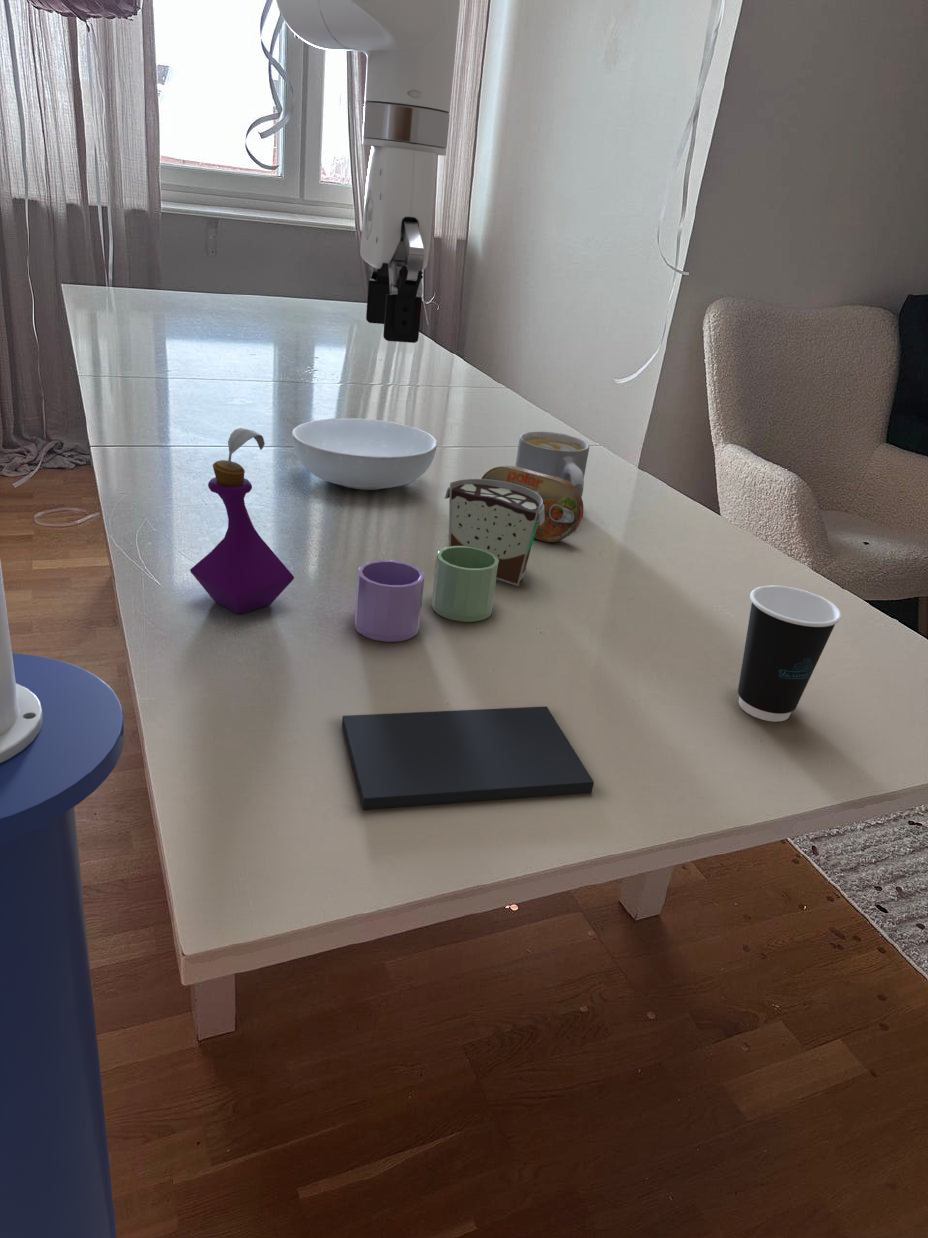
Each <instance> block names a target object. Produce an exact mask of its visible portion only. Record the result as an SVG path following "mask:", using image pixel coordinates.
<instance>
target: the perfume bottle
mask: <svg viewBox="0 0 928 1238" xmlns="http://www.w3.org/2000/svg"><path fill="white" fill-rule="evenodd" d="M251 439H254V440H255V441H256V443H257V445H258V448H259V451H262V450H263V449H264V447H265V445H266V444H265V440H264V436H263V435H262V434H260V433H259V432H257V431H255V430H253V429H248V428H244V427H243V428H242V427H238V428H236V429H234V430H233V431H232V432H231V433H230V435H229V438H228V440H227V446H228V459H227V460H225V459H220V460H217V461H215V462H214V463H212V468H213V473H214V477H212V478H211V479H210V480H209V481H208V484H207V488H208V489H209V490H210V492H211V493H214V494H217V495H218V496H219V497H220V499H221V501H222V502H223V505H224V507H225V510H226V514H227V519H228V520H227V521H228V522H227V529H226V533H225V535H224V537H223V538H222V539H221V540H220V541H219V542H218V543H217V545H216V546H214V548H213V549H212V550H211V551H210V552H209V553H208V554H207V555H205V556H204V557H203V558H202V559H201V560H200V561H198V562H197V563H196V564H195V565H193V566H192V567H191V568H190V569H189V571H190V573H191V574H192V576H193V577H194V578H195V579H196V580H197V582H198V583H199V584H200V586H201V587H202V588H203V589H204V590H205V592H206V593H207V594H208V595H209V596H210V598H211V599H212V600H213V601H214V602H215V603H216V604H218V605H221V606H222V607H224V608H226V609H227V610H229V611H231V612H233V613H234V614H235V615H242V614H245V613H248V612H251V611H254V610H258V609H260V608H264V607H268V606H270V605H271V604H272V603H274V601H275V600H276V599H277V598H278V597H279V596H280V595H281V594H282V593H283V592H284V591H285V589H286V588H287V587H288V586H289V585H290V584H291V583H292V582H293V581H294V579H295V576H294V575H293V573H292V572H291V571H290V570H289V569H288V568H287V567H286V565H285V564H284V563H283V562H282V560H280V558H279V557H278V556H277V555H276V554H275V552H274V551H273V550H272V549H271V547H270V546H269V545H268V544H267V542H265V540H264V539H263V538H262V537H261V536H260V534H259V533H258V531H257V530H256V528H255V527H254V524H253V521H252V519H251V517H250V515H249V511H248V509H247V507H246V503H245V497H246V494H248V493H250V492H251V490H252V489H253V486H252V483H251V482H250V481H249V479H247V478H245V474H246V471H245V469H244V468H243V466H242V465H241V464H239V463H238V462H235V461H232V454H234V453H235V452H236V451H237V450H238V449H240V448H241V447H242V446H243V445H245V444H246V443H247V442H248V441H249V440H251Z"/></svg>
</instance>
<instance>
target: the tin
mask: <svg viewBox="0 0 928 1238" xmlns="http://www.w3.org/2000/svg"><path fill="white" fill-rule="evenodd" d="M480 479H489V480H497V481H504V482H509V483H513V484H516V485H520V486H523V487H525V488H528V489H530V490H532V491H534V492H536V493H537V494H538V495H540V497H541V498H542V500H543V505H544V514H545V521H544V522H543V524H542V525H539V521H538V525H537V528H536V532H535V536H534V539H535V540H538V541H541V542H545V543H557V542H560V541H563V540H565V539H566V538H567V537H569V536H571V535H572V534H574V533H575V532H576V531H577V530H578V528H579V527H580V525H581V524H582V520H583V517H584V502H583V497H581V495H580V493H579V492H578V490H577V489H576V488H575V486H574V485H572V484H571V483H570V482H568V481H567V480H564V479H562V478H558V477H554V476H550V475H546V474H542V473H538V472H534V471H531V470H527V469H523V468H520V467H516V465H503V466H496V467H493V468H491V469H489V470H487V471H486V472H484V474H483V475H482V477H481V478H480Z"/></svg>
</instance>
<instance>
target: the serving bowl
mask: <svg viewBox="0 0 928 1238" xmlns="http://www.w3.org/2000/svg"><path fill="white" fill-rule="evenodd" d="M291 437H292V444H293V450H294V452H295V455H296V457H297V459H298V461H299V462H300V464H302V466H303V467H304V468H305V469H306V470H307V471H308V472H309V473H311V474H312V475H313V476H315V477H317V478H319V479H321V480H323V481H325V482H328V483H331V484H334V485H338V486H341V487H344V488H349V489H353V490H361V491H363V490H364V491H379V490H384V489H390V488H396V487H401V486H404V485H407V484H410V483H412V482H414V481H416V480H417V479H419V478H420V477H422V475H424V474H425V473H426V471H427V470H428V469H429V468H430V467H431V465H432V463H433V461H434V458H435V454H436V451H437V447H438V441H437V439H436V438H435V437H434V436H433V435H432V434H430V433H429V432H427V431H424V430H422V429H420V428H417V427H413V426H410V425H407V424H402V423H398V422H393V421H387V420H380V419H373V418H370V419H369V418H358V417H357V418H356V417H355V418H353V417H351V418H349V417H342V418H341V417H339V418H324V419H317V420H311V421H307V422H303V423H301V424H298V425H297V426H296V427H294V428H293V429H292V431H291Z"/></svg>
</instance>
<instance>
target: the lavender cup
mask: <svg viewBox="0 0 928 1238" xmlns="http://www.w3.org/2000/svg"><path fill="white" fill-rule="evenodd" d="M359 566H360V567H359V568H358V570H357V572H356V573H357V574H356V588H355V589H356V590H355V603H354V606H355V607H354V628H355V630H356V631H357V632H358V633H359V634H360V635H362V636H363V637H365V638H368V639H370V640H374V641H378V642H384V643H385V642H387V643H394V642H396V643H397V642H403V641H407V640H410V639H412V638H413V637H414V638H415V636H416V635H417V634H418V632H419V630H420V629H419V628H420V624H421V617H422V605H423V595H424V584H425V574H424V572H423V570H422V569H420V568H419V567H417V566H416V565H413V564H411V563H408V562H405V561H400V560H399V561H398V560H392V559H378V560H373V561H372V560H371V561H368V562H366V563H363V564H361V565H359Z"/></svg>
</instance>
